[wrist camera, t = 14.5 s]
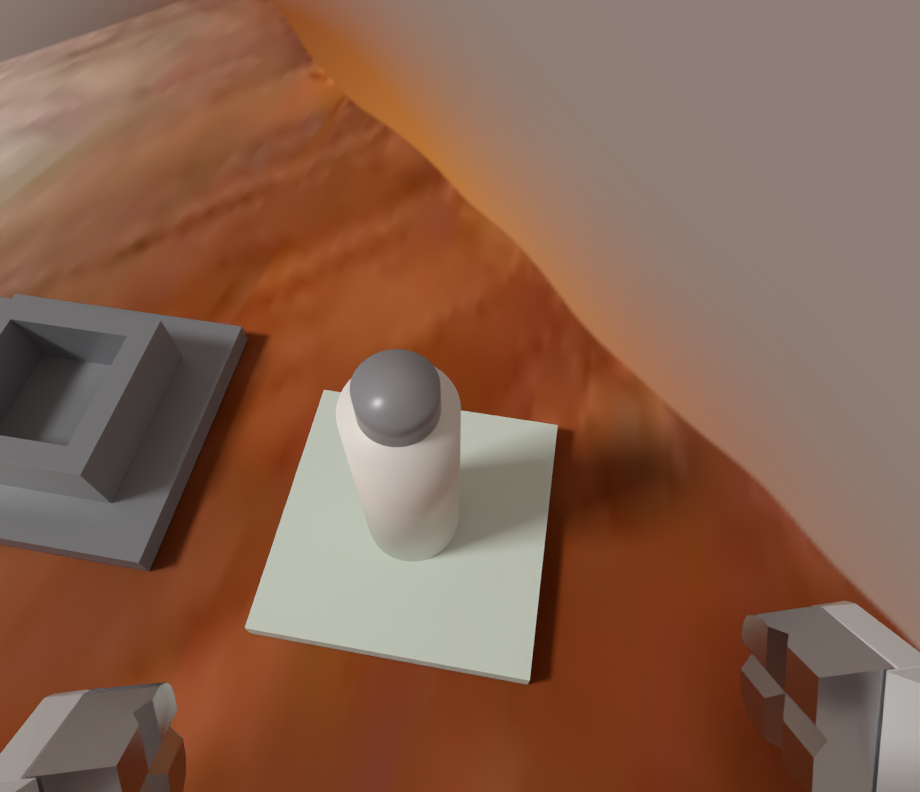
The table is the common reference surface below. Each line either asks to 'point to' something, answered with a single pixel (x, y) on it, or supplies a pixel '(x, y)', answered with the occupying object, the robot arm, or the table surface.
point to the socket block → (103, 423)
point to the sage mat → (419, 582)
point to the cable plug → (404, 452)
